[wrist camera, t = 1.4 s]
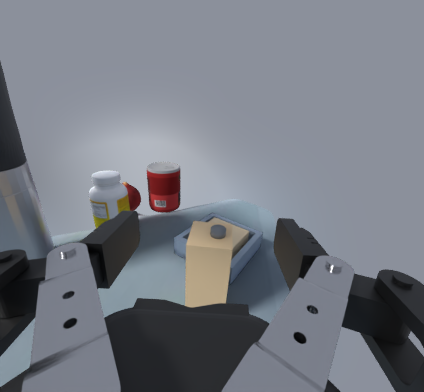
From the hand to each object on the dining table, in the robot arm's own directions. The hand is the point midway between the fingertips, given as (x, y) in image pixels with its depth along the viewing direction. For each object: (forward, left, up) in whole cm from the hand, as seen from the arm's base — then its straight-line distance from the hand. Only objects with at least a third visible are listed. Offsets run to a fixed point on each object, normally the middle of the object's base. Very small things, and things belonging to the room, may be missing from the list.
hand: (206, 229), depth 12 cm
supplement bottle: (-30, +11, -20) cm, 38 cm away
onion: (-35, +18, -20) cm, 44 cm away
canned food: (-31, +26, -20) cm, 45 cm away
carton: (-5, +9, -20) cm, 22 cm away
